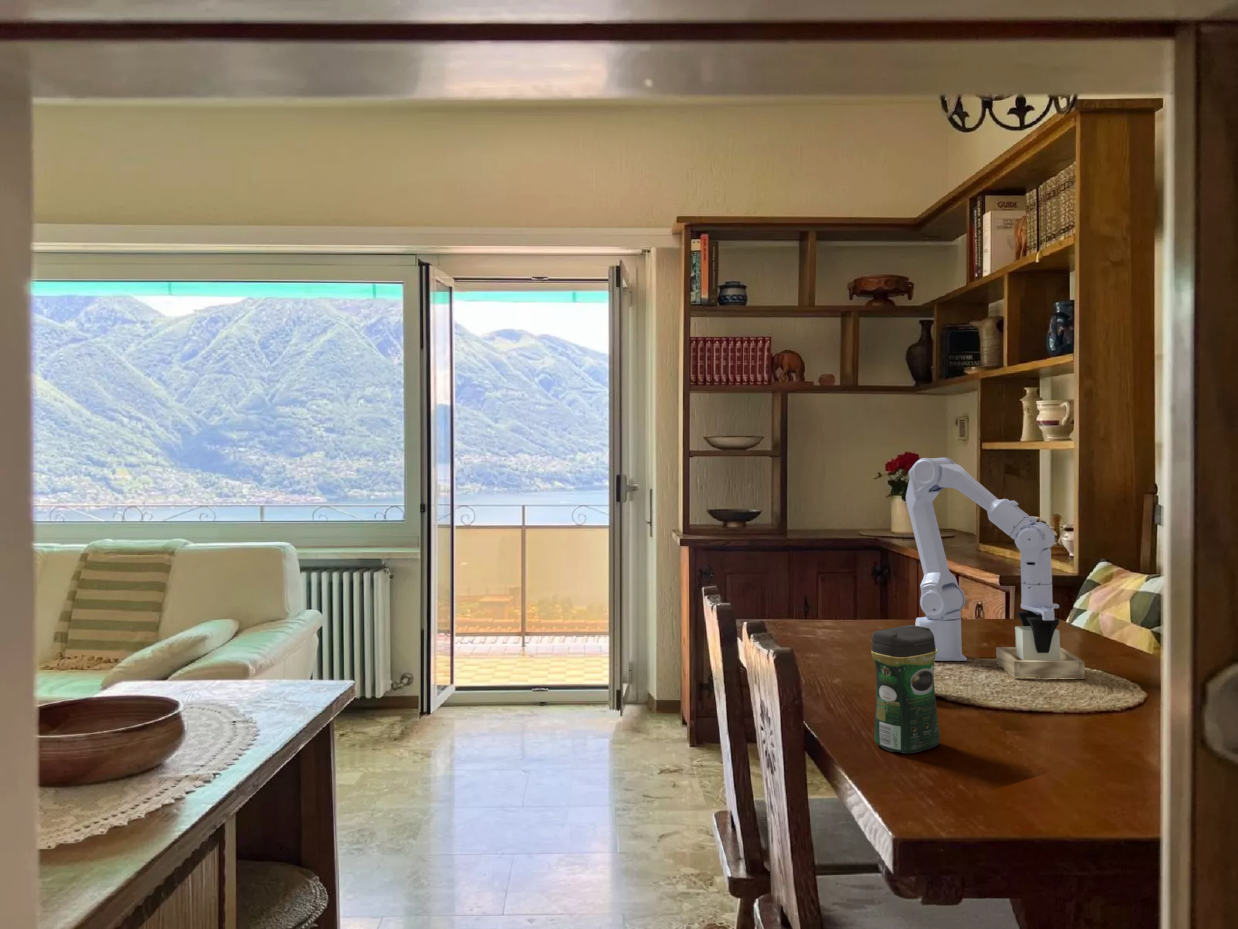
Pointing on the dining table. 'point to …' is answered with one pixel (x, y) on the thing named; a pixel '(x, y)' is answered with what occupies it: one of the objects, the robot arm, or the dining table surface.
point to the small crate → (1027, 645)
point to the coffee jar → (905, 689)
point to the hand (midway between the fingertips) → (1038, 649)
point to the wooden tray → (1040, 665)
